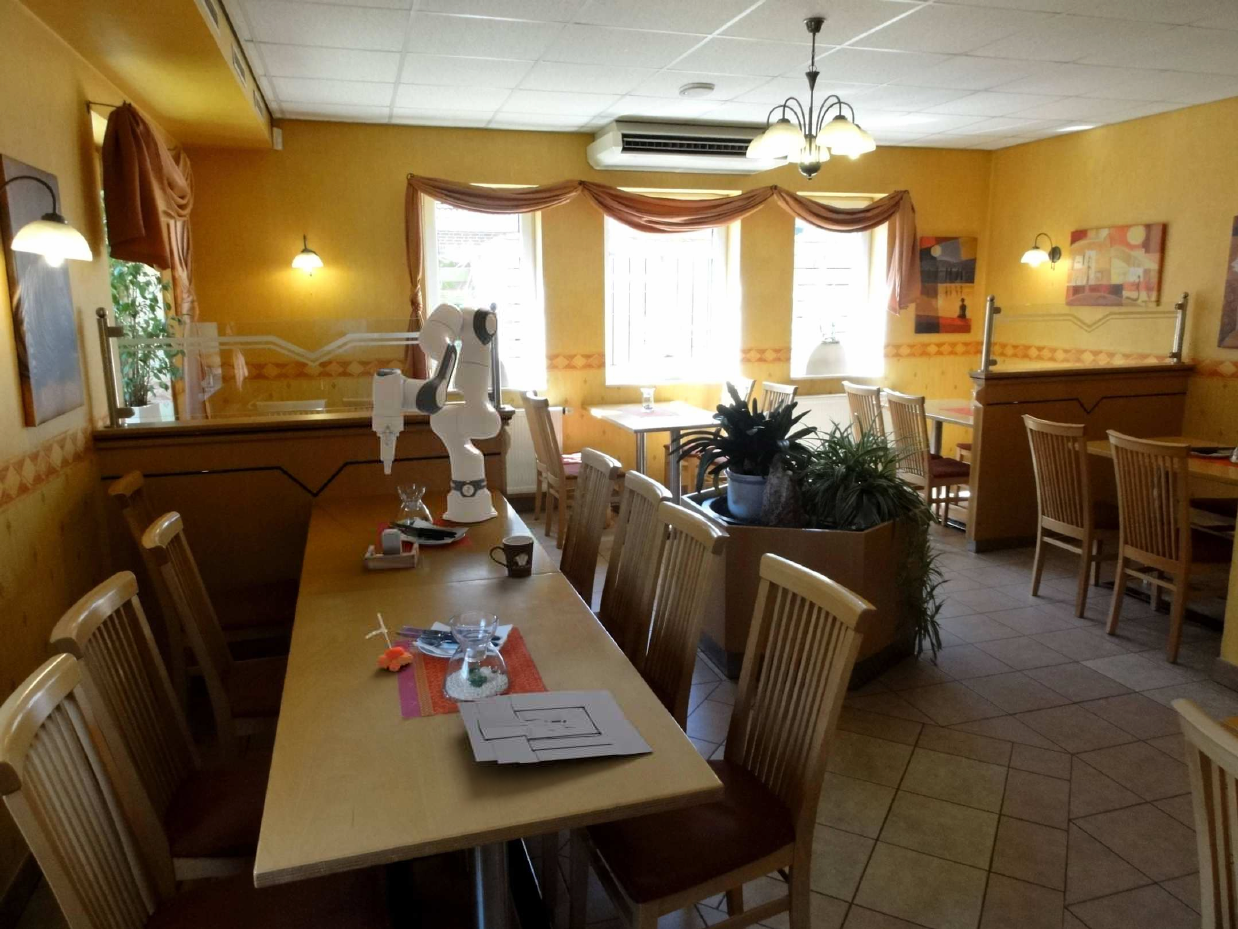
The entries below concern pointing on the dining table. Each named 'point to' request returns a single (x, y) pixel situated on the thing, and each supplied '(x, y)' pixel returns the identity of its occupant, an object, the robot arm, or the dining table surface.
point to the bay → (390, 559)
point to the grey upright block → (391, 542)
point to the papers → (549, 726)
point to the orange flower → (391, 653)
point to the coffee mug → (517, 555)
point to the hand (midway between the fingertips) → (388, 470)
